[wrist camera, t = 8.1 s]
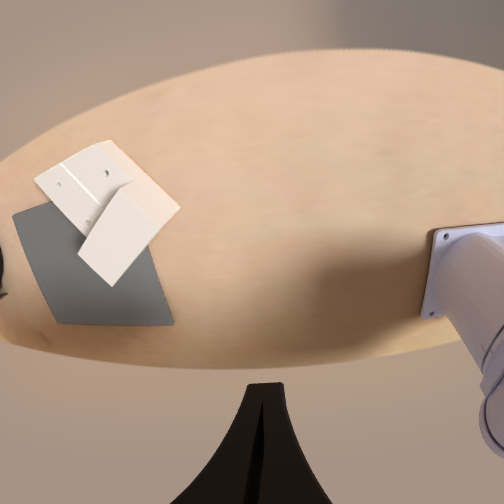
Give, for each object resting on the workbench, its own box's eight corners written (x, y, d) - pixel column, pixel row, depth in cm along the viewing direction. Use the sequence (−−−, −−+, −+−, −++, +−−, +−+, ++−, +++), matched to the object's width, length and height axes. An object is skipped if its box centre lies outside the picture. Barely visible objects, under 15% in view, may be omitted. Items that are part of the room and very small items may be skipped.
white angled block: (87, 271, 21) (48, 173, 17) (194, 246, 19) (154, 121, 16) (64, 295, 18) (16, 186, 14) (179, 274, 16) (126, 123, 12)
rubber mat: (129, 178, 18) (127, 179, 17) (174, 322, 23) (172, 325, 22) (14, 214, 19) (12, 216, 19) (59, 320, 25) (57, 323, 24)
